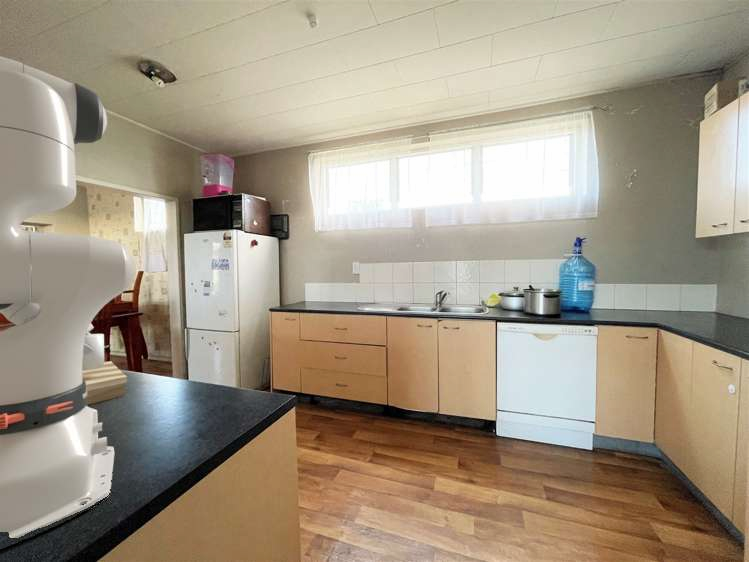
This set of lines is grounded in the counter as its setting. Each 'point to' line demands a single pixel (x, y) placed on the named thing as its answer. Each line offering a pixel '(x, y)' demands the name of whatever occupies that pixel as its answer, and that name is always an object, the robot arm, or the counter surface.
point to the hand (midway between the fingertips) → (94, 349)
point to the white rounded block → (94, 352)
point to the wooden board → (104, 383)
